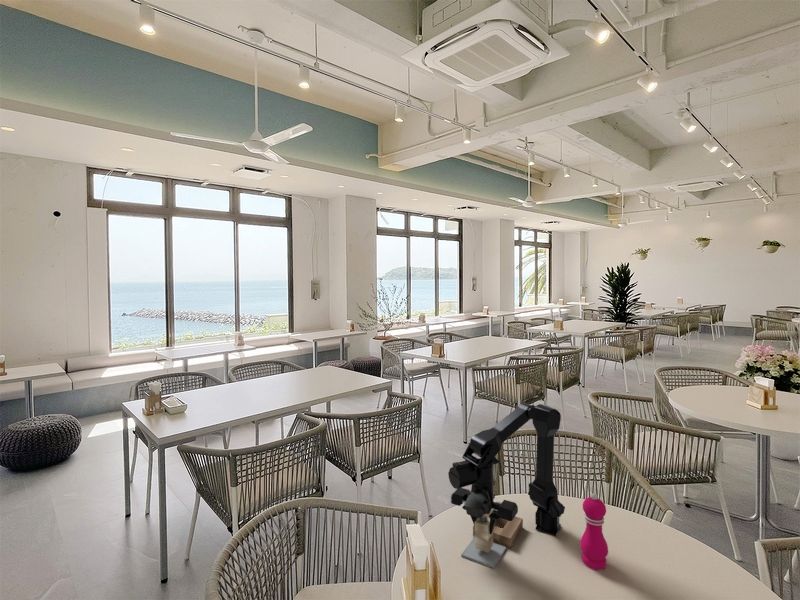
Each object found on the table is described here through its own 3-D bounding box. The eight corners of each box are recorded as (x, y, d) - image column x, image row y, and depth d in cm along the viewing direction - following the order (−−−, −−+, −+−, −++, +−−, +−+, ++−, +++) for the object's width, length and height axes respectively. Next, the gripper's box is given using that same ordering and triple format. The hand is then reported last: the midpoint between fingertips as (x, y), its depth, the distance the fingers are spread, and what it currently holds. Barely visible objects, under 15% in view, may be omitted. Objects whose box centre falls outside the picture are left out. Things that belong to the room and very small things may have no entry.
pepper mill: (602, 554, 124) (603, 487, 122) (612, 571, 116) (613, 500, 115) (576, 553, 124) (576, 486, 123) (584, 570, 117) (585, 499, 116)
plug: (493, 545, 126) (492, 515, 126) (488, 552, 123) (487, 522, 122) (480, 541, 128) (479, 512, 128) (475, 548, 125) (474, 518, 124)
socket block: (522, 527, 137) (522, 518, 137) (510, 548, 127) (510, 538, 127) (487, 516, 144) (487, 508, 144) (473, 535, 134) (473, 526, 134)
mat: (506, 548, 127) (506, 546, 127) (494, 568, 119) (494, 566, 119) (474, 538, 132) (474, 536, 132) (461, 556, 124) (461, 554, 124)
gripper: (441, 483, 123) (442, 535, 124) (505, 500, 112) (505, 557, 113) (458, 468, 132) (459, 516, 133) (518, 483, 122) (518, 535, 123)
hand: (483, 531), depth 125 cm, fingers closed on plug, 4 cm apart
